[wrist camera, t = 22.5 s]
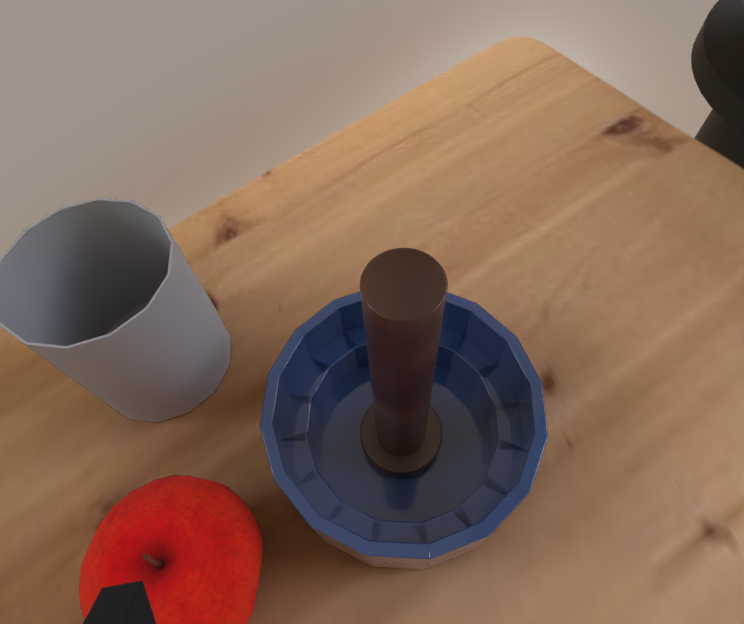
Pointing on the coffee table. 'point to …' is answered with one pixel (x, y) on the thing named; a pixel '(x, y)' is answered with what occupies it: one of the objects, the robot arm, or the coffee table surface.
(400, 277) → the cylinder with round base
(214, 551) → the apple
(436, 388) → the bowl
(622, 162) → the coffee table surface
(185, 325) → the cup
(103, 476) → the coffee table surface
